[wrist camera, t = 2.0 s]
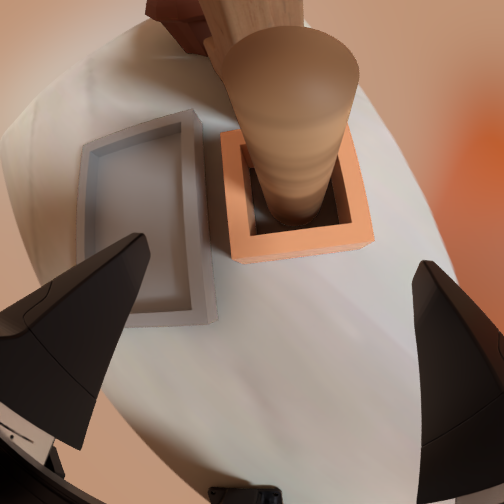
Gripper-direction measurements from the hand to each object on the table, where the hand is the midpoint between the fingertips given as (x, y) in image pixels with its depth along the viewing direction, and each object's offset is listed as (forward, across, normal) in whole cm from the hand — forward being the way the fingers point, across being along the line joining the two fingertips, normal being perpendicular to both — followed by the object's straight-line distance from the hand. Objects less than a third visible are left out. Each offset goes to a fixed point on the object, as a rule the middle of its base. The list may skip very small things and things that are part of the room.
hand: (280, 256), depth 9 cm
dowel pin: (+12, 0, +4) cm, 13 cm away
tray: (+10, +12, +6) cm, 17 cm away
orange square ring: (+12, 0, +4) cm, 13 cm away
